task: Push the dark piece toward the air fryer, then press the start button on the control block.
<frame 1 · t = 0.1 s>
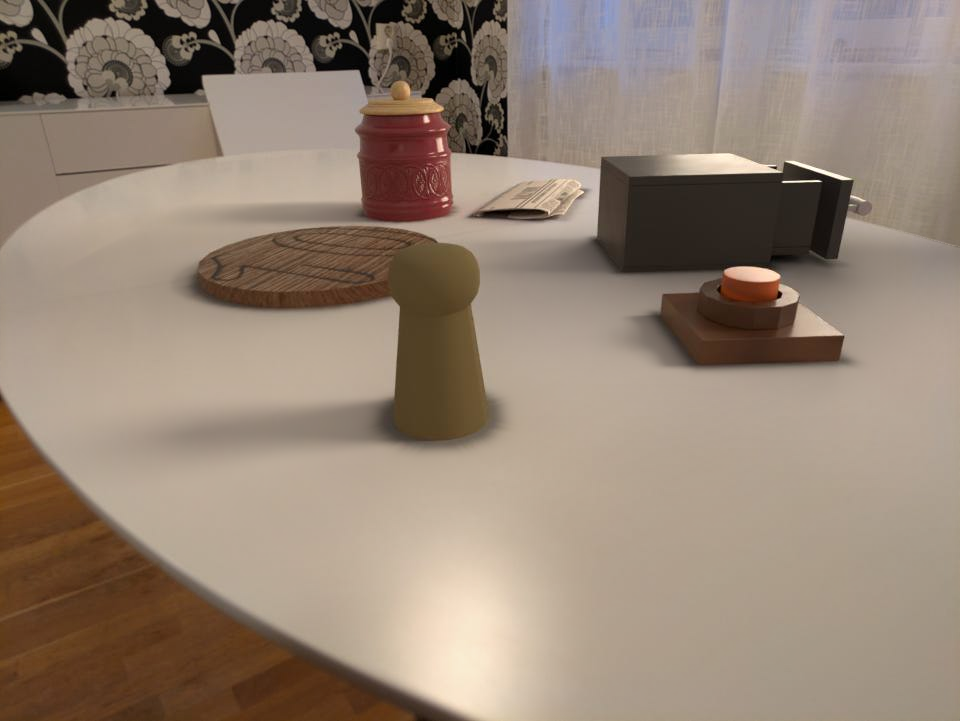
newspaper: (537, 206, 100), on the table
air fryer: (675, 255, 74), on the table
control block: (741, 340, 52), on the table
olive game pawn: (441, 423, 42), on the table
start button: (749, 285, 50), point 4 cm above the table, slide at 0.1 cm
dark piece: (771, 208, 72), point 5 cm above the table, slide at 6.0 cm
kitchen canister: (408, 215, 96), on the table
trivet: (326, 272, 71), on the table
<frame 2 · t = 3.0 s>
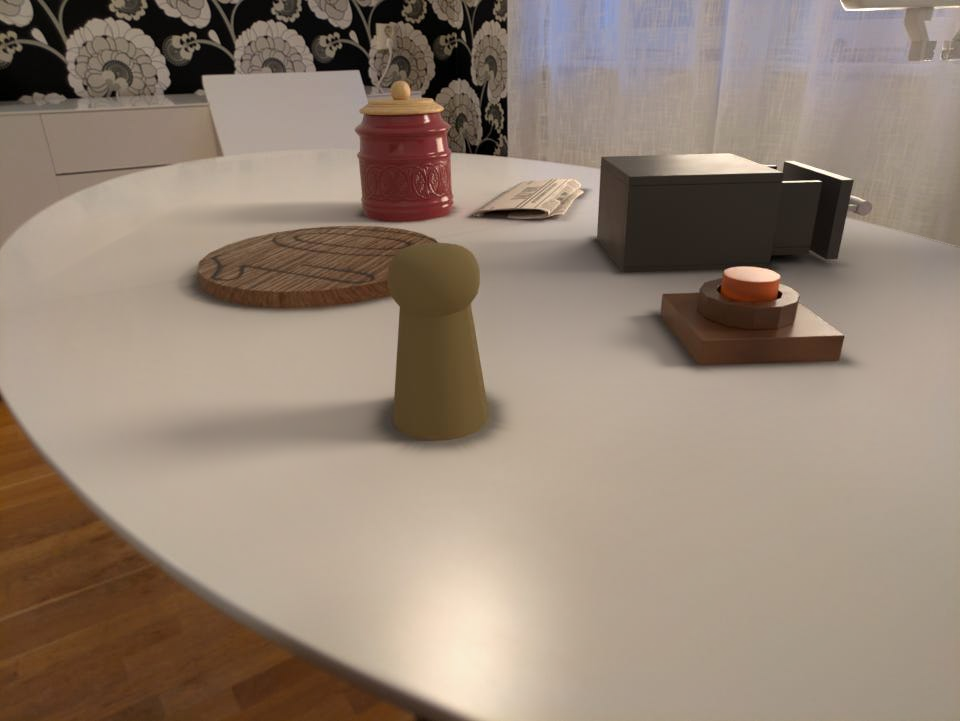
hand: (935, 60, 66), 19 cm above the table, tool pointing down, fingers closed
nothing on the table moved.
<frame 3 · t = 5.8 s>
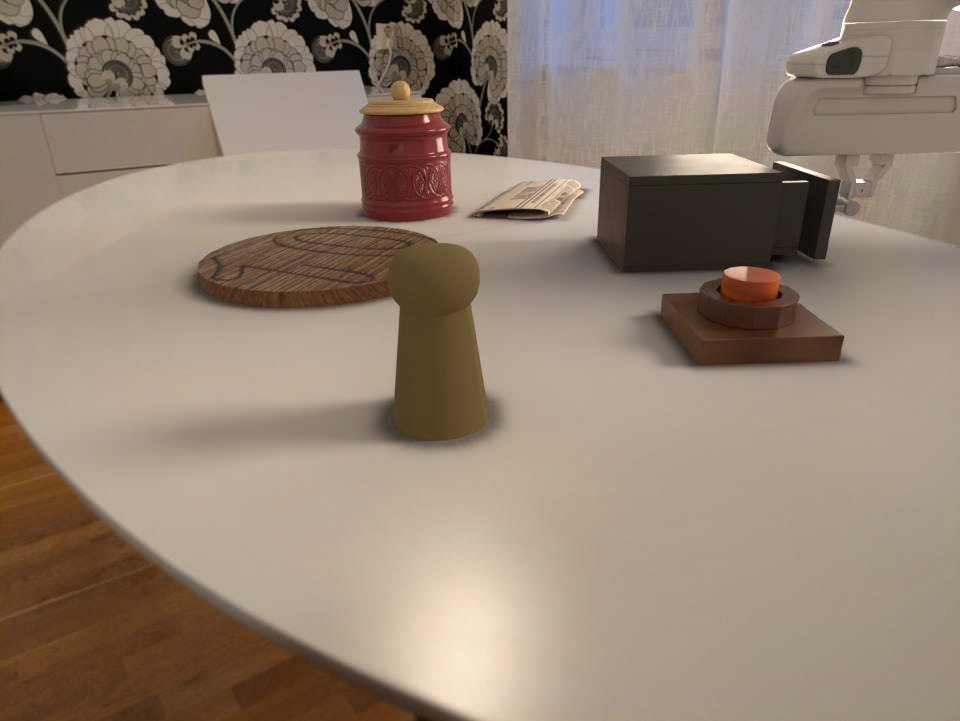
hand: (855, 197, 72), 6 cm above the table, tool pointing down, fingers closed
dark piece: (759, 208, 72), point 5 cm above the table, slide at 4.7 cm, touching gripper
everything else where it was.
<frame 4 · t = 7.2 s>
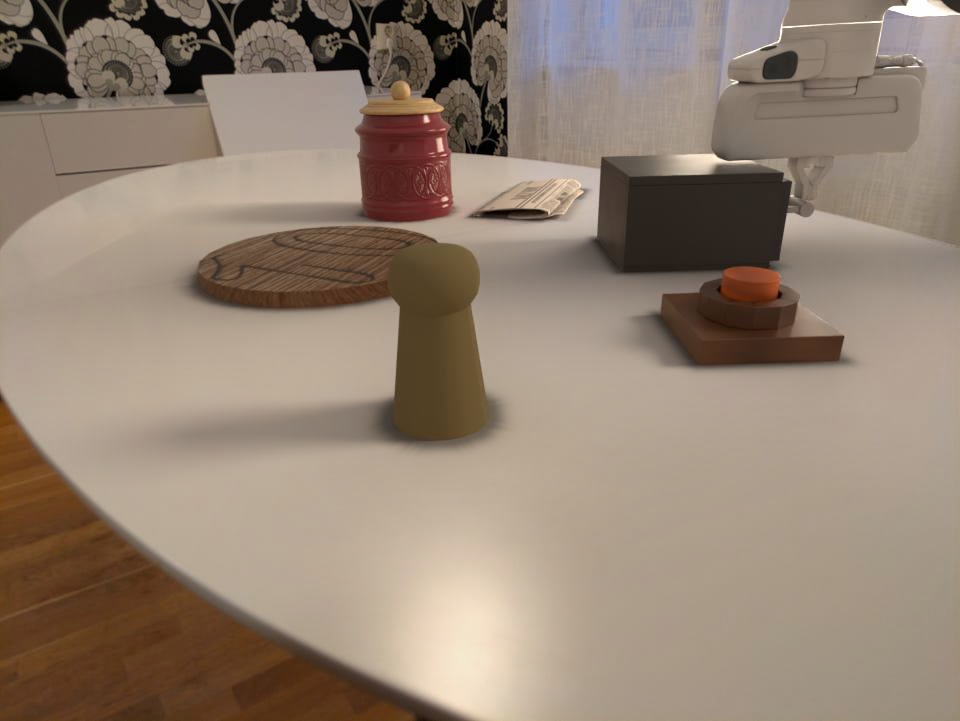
hand: (803, 200, 72), 6 cm above the table, tool pointing down, fingers closed, pressing on dark piece
dark piece: (715, 210, 72), point 5 cm above the table, slide at 0.0 cm, touching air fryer, gripper
everything else where it was.
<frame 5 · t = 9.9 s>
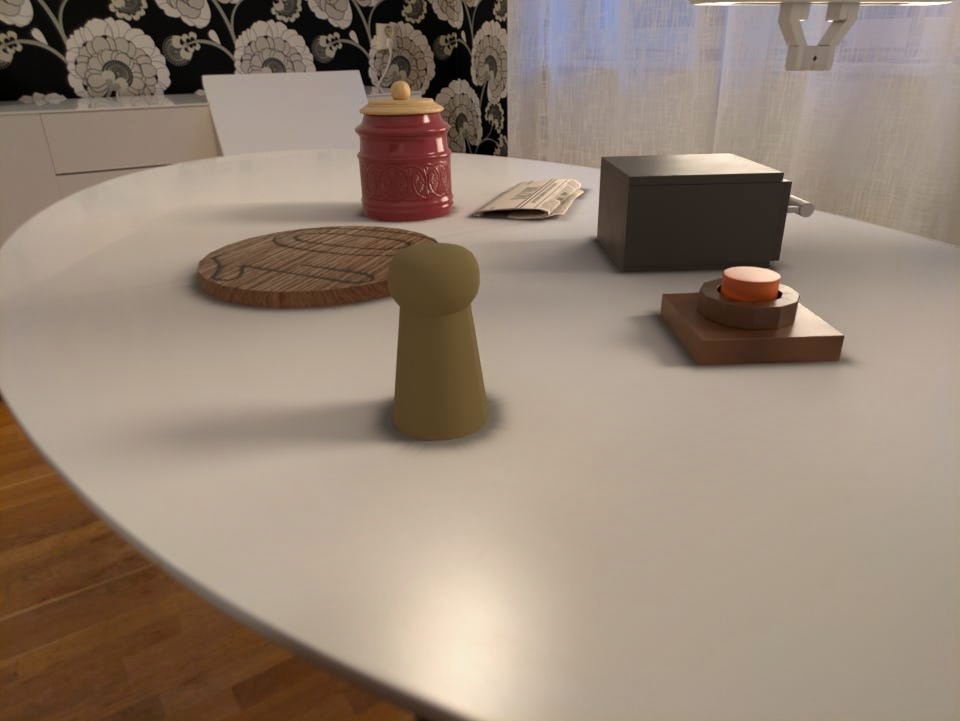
hand: (807, 71, 52), 19 cm above the table, tool pointing down, fingers closed
dark piece: (715, 210, 72), point 5 cm above the table, slide at 0.0 cm, touching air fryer
everything else where it was.
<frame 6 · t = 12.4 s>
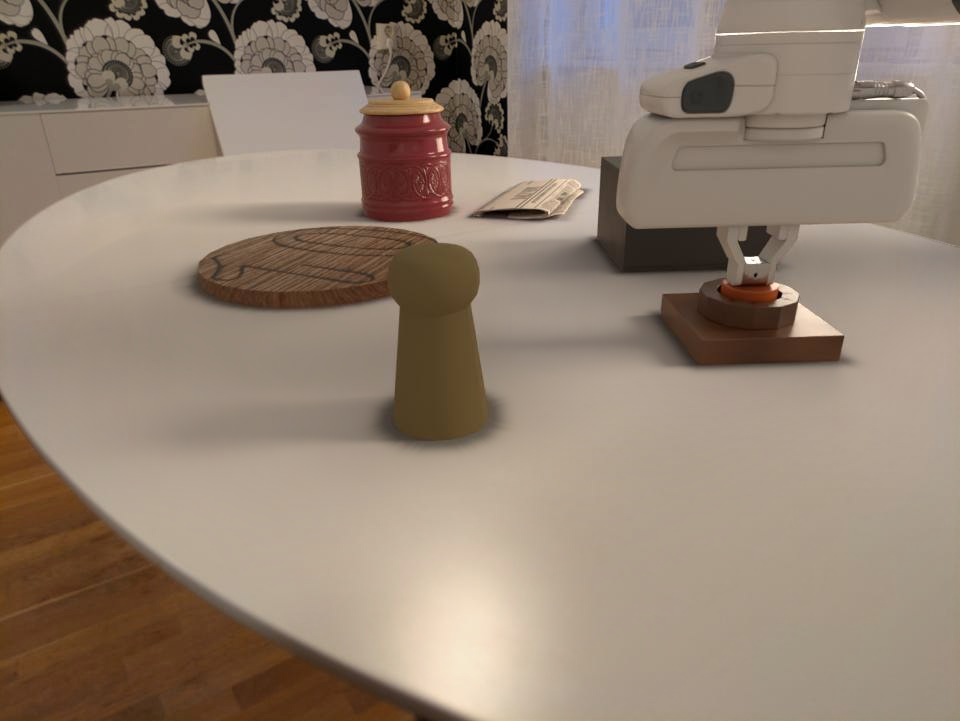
hand: (748, 283, 50), 5 cm above the table, tool pointing down, fingers closed, pressing on start button
start button: (748, 294, 50), point 4 cm above the table, slide at -0.6 cm, touching gripper
everything else where it was.
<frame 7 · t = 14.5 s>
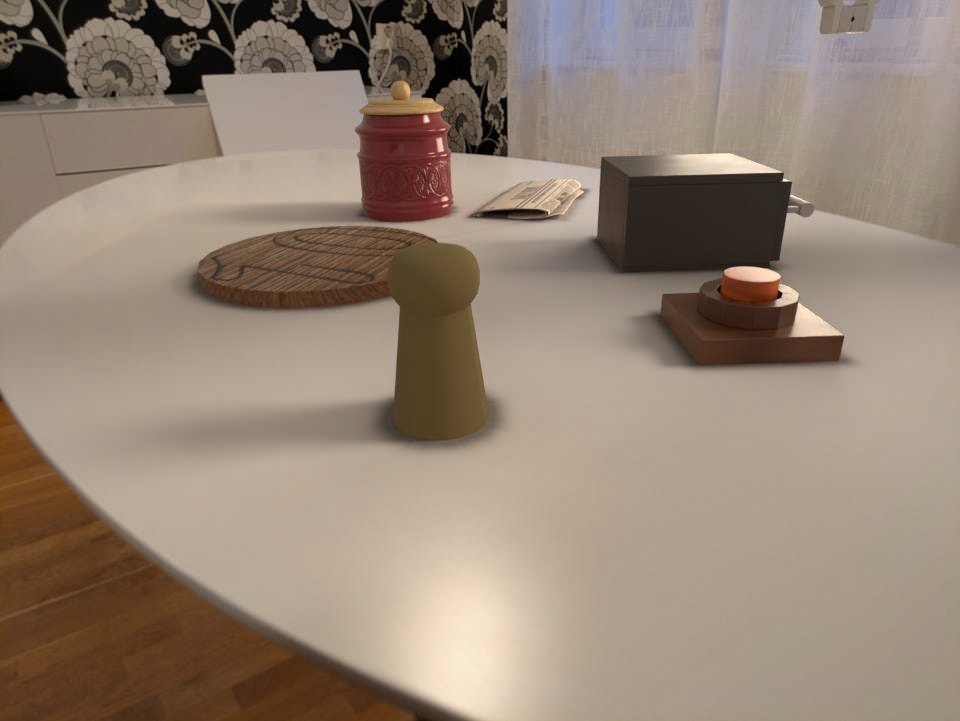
hand: (844, 33, 49), 21 cm above the table, tool pointing down, fingers closed
start button: (749, 285, 50), point 4 cm above the table, slide at 0.1 cm
everything else where it was.
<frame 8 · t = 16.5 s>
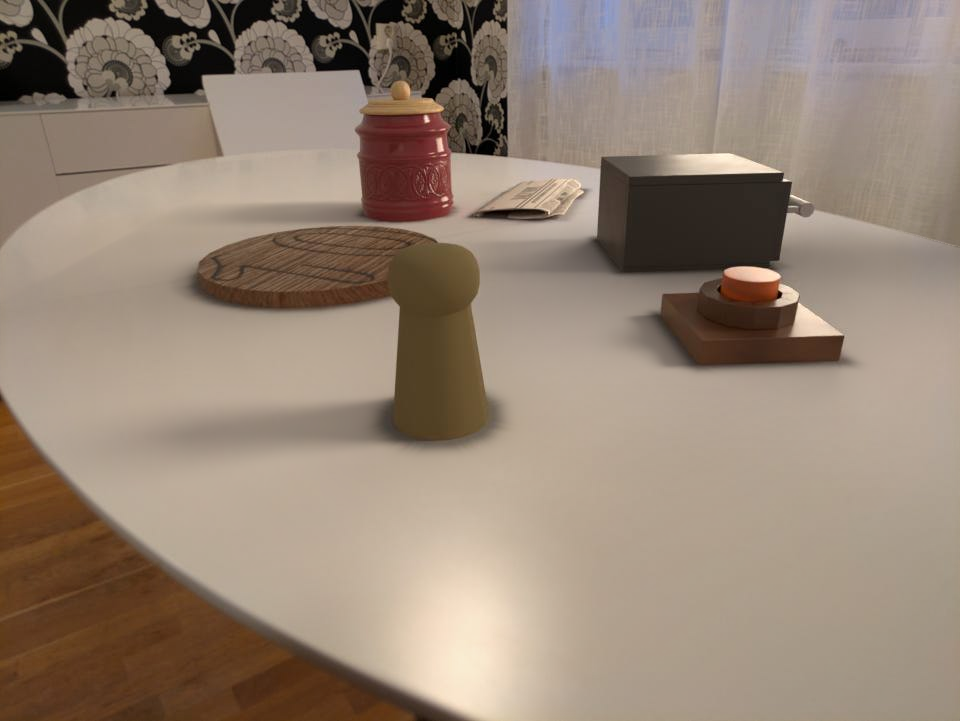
nothing on the table moved.
at the end: dark piece slide at 0.0 cm; start button pushed in 0.9 cm at the most during the clip, back to where it started at the end; start button slide at 0.1 cm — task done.
